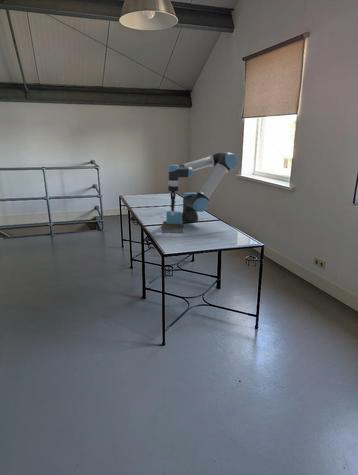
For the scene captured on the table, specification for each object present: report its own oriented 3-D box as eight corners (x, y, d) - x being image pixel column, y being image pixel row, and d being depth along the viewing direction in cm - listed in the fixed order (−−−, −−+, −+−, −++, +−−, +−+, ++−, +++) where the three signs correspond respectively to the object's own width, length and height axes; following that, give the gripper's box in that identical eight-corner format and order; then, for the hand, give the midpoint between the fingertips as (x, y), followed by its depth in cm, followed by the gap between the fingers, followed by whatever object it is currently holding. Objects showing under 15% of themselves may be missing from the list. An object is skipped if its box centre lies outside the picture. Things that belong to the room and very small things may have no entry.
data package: (181, 226, 262) (181, 211, 258) (181, 227, 258) (182, 212, 254) (166, 225, 262) (166, 211, 258) (166, 227, 257) (166, 212, 254)
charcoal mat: (162, 228, 254) (162, 227, 254) (183, 229, 254) (183, 228, 254) (161, 232, 243) (161, 232, 243) (183, 233, 244) (183, 232, 243)
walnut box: (162, 224, 264) (162, 221, 263) (182, 225, 265) (182, 221, 264) (162, 228, 256) (162, 224, 255) (183, 228, 256) (183, 224, 255)
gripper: (168, 183, 262) (168, 209, 268) (167, 188, 238) (167, 216, 245) (178, 183, 262) (177, 209, 269) (178, 188, 238) (177, 217, 245)
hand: (172, 213), depth 257 cm, fingers open, 13 cm apart
